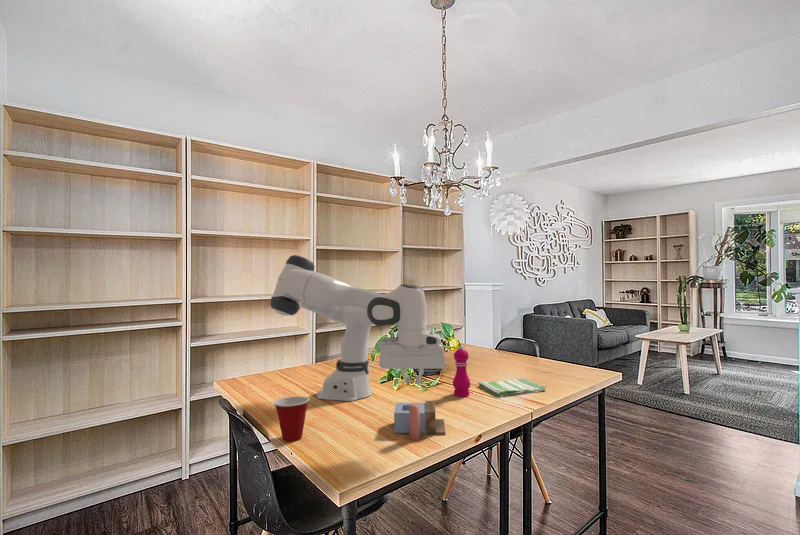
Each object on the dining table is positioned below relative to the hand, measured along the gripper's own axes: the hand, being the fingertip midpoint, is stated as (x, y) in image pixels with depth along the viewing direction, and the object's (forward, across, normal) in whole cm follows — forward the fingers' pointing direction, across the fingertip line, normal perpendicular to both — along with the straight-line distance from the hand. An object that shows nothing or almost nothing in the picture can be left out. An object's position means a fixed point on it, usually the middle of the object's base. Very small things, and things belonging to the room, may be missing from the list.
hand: (412, 382), depth 127 cm
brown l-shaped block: (+17, +7, +9) cm, 20 cm away
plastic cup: (+17, -38, 0) cm, 41 cm away
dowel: (+17, 0, 0) cm, 17 cm away
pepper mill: (+17, +18, +44) cm, 50 cm away
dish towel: (+18, +40, +53) cm, 69 cm away
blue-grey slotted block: (+17, -1, +9) cm, 19 cm away
